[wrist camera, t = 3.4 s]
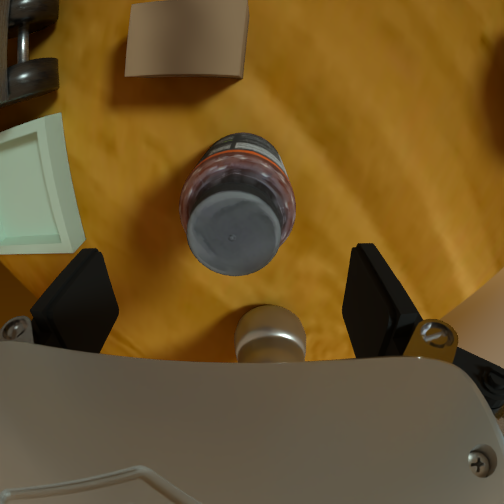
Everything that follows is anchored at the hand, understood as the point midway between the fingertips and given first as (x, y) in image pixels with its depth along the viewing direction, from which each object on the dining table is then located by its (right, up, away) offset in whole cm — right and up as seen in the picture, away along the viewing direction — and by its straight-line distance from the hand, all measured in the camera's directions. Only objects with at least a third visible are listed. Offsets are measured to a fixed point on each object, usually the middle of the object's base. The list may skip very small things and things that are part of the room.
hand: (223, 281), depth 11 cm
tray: (-21, +7, +12) cm, 25 cm away
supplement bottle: (0, +7, +12) cm, 14 cm away
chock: (-3, +16, +7) cm, 17 cm away
